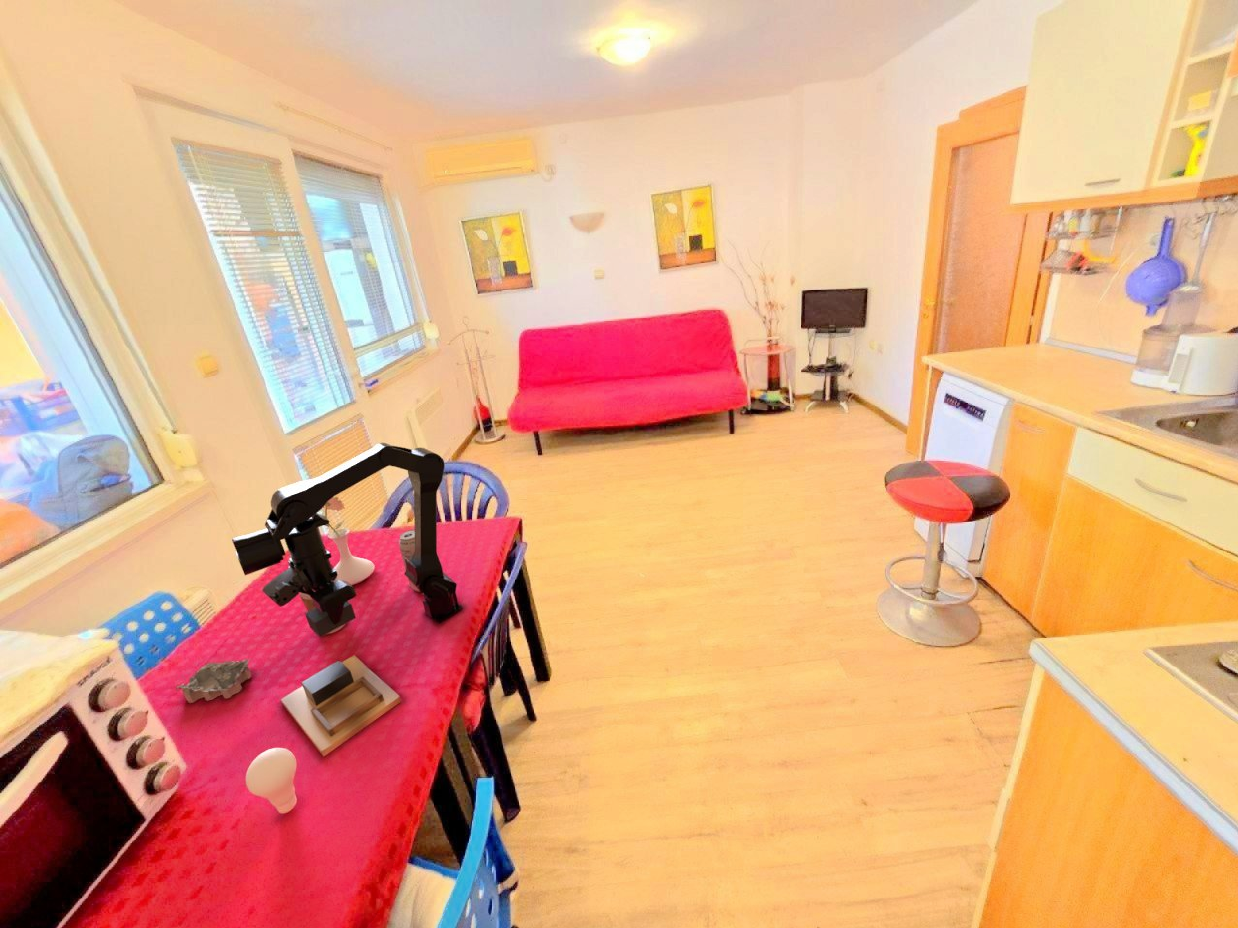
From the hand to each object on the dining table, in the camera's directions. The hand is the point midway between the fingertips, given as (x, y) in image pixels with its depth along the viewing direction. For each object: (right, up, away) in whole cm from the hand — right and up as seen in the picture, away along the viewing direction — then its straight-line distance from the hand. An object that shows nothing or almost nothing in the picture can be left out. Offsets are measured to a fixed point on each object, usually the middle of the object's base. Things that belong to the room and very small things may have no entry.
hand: (331, 618), depth 101 cm
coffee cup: (-9, -7, +16) cm, 19 cm away
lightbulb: (+8, -21, -25) cm, 34 cm away
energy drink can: (+8, 0, +28) cm, 29 cm away
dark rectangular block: (0, -1, 0) cm, 1 cm away
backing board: (+6, -14, -6) cm, 16 cm away
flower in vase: (-14, 0, +34) cm, 37 cm away
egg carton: (-22, -14, 0) cm, 26 cm away
